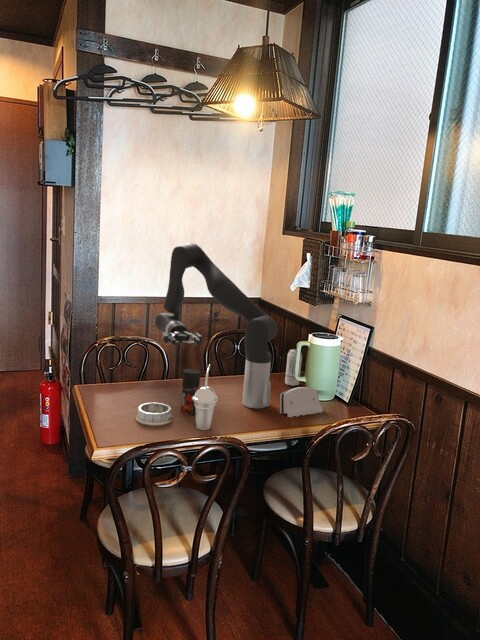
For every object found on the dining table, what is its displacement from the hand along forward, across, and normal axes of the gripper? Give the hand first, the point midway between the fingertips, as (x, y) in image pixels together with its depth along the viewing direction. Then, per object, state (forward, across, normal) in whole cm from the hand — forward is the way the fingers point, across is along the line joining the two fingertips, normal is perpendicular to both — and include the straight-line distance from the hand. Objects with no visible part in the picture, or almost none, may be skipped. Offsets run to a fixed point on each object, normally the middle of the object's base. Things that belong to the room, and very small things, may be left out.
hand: (186, 343), depth 195 cm
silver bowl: (+16, -13, +22) cm, 30 cm away
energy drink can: (-14, +51, +22) cm, 57 cm away
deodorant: (+11, 0, +22) cm, 25 cm away
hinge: (+15, +41, +22) cm, 49 cm away
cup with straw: (+25, +2, +22) cm, 33 cm away
